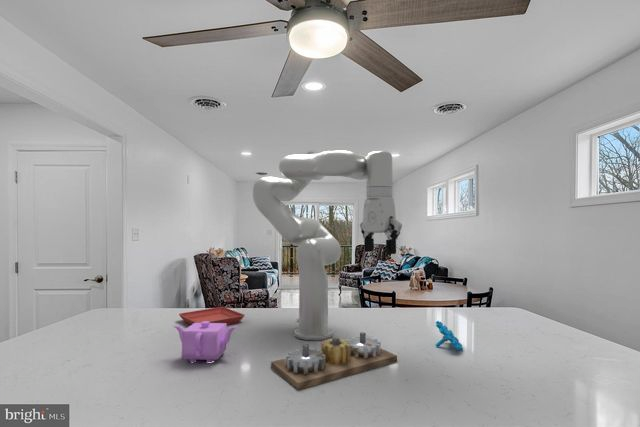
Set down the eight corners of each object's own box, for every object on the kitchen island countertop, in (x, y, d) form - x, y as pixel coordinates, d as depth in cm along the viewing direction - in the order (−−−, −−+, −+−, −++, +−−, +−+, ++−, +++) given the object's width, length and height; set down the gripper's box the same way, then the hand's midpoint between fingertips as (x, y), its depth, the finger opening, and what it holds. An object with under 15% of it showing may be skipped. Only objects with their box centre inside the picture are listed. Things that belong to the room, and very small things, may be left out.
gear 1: (279, 363, 87) (279, 343, 88) (312, 355, 93) (312, 336, 93) (298, 377, 79) (298, 355, 79) (333, 368, 84) (333, 347, 85)
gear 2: (338, 349, 97) (338, 331, 97) (364, 343, 102) (364, 326, 102) (360, 360, 89) (360, 341, 89) (388, 353, 94) (388, 335, 94)
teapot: (244, 349, 102) (245, 315, 102) (231, 367, 89) (231, 328, 89) (183, 348, 102) (184, 314, 103) (161, 366, 89) (162, 327, 90)
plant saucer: (222, 314, 143) (222, 305, 143) (245, 323, 130) (245, 314, 130) (177, 322, 130) (177, 313, 131) (198, 333, 117) (198, 323, 117)
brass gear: (316, 356, 92) (316, 341, 92) (338, 351, 96) (338, 336, 96) (332, 366, 86) (332, 349, 86) (355, 360, 90) (355, 344, 90)
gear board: (298, 389, 77) (298, 359, 77) (271, 367, 89) (271, 341, 89) (397, 361, 93) (397, 336, 93) (363, 345, 105) (363, 323, 105)
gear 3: (462, 350, 96) (436, 320, 100) (446, 364, 97) (421, 334, 102) (466, 344, 106) (442, 317, 110) (451, 356, 107) (428, 329, 111)
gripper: (351, 195, 108) (351, 251, 108) (389, 191, 93) (390, 255, 93) (370, 196, 112) (370, 250, 112) (410, 192, 97) (410, 254, 97)
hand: (379, 252), depth 102 cm, fingers open, 9 cm apart
